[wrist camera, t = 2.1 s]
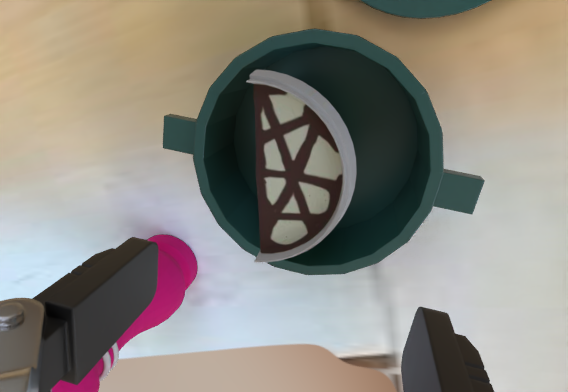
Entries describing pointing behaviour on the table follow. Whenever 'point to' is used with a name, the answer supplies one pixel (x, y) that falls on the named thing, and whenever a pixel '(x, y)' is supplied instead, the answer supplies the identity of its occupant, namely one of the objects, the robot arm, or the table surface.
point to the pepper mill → (169, 295)
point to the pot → (365, 136)
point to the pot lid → (424, 7)
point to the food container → (298, 165)
